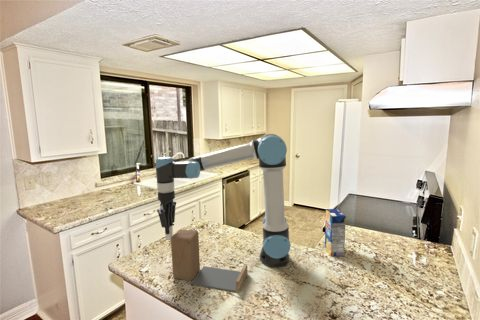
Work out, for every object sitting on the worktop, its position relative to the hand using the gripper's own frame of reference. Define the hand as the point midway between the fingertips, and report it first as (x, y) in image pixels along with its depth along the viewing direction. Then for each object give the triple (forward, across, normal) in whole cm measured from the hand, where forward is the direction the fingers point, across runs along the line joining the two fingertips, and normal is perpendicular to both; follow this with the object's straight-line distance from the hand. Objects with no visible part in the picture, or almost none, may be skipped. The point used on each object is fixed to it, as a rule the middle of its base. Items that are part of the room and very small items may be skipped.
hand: (169, 239), depth 124 cm
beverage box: (+17, -39, +76) cm, 87 cm away
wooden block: (+17, 0, +8) cm, 18 cm away
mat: (+16, 0, +24) cm, 29 cm away
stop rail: (+16, 0, +35) cm, 39 cm away
